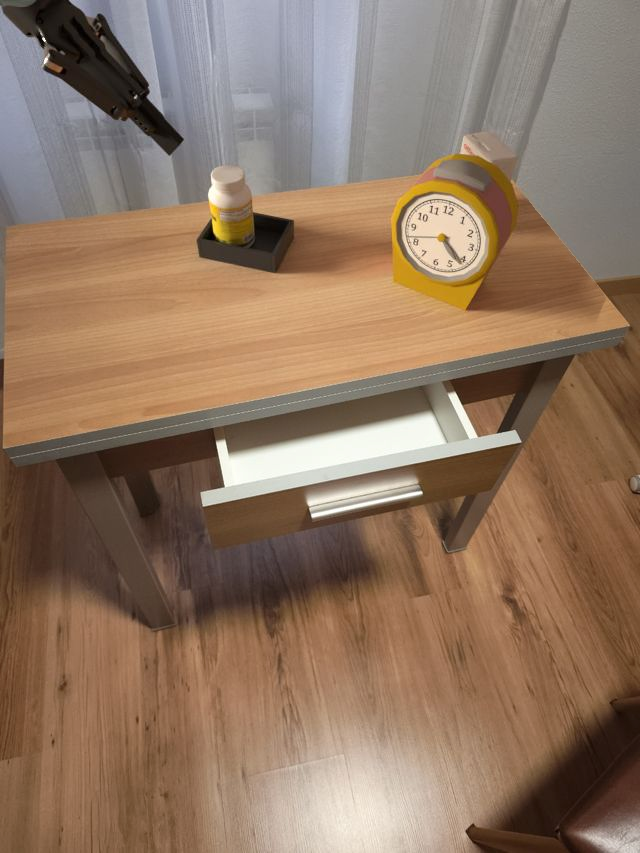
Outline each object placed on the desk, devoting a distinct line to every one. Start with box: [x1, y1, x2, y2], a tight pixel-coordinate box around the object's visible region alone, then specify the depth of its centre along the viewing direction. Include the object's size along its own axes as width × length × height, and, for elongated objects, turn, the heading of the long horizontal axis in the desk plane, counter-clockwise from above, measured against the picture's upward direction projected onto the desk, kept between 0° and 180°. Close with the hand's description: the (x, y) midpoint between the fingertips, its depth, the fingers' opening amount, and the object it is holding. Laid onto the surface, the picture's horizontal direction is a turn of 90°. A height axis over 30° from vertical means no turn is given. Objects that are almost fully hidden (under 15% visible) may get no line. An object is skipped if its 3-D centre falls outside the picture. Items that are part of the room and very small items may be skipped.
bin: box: [196, 211, 295, 274], centre depth 86 cm, size 12×9×3 cm
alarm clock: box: [390, 153, 519, 311], centre depth 77 cm, size 15×8×18 cm, turn 60°
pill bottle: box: [207, 164, 255, 248], centre depth 83 cm, size 6×6×11 cm
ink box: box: [459, 130, 519, 183], centre depth 90 cm, size 9×5×12 cm, turn 21°
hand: (176, 147), depth 78 cm, fingers closed
